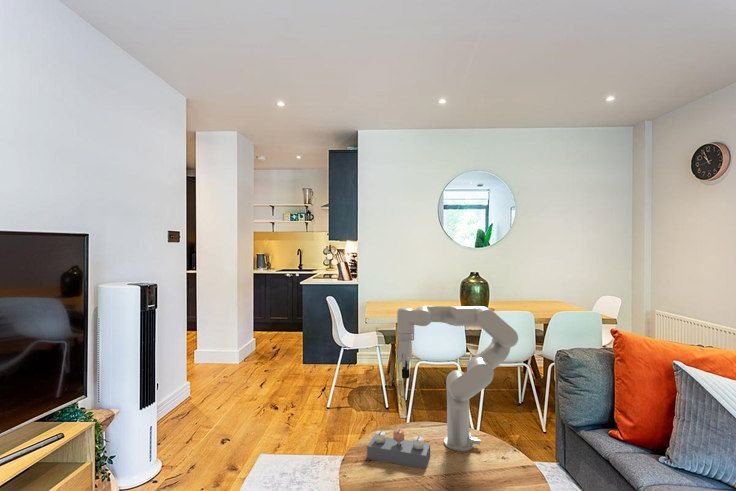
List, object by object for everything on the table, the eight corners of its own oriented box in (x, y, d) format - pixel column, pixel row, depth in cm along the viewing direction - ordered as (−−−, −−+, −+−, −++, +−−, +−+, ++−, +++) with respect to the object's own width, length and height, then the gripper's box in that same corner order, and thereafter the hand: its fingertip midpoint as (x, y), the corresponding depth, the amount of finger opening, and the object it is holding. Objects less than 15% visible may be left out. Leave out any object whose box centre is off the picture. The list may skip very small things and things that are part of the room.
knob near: (424, 453, 156) (424, 436, 156) (422, 458, 151) (422, 441, 152) (413, 451, 157) (413, 435, 157) (411, 456, 153) (411, 439, 153)
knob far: (386, 446, 161) (386, 431, 161) (383, 451, 157) (383, 435, 157) (376, 445, 162) (376, 429, 162) (373, 450, 158) (373, 434, 158)
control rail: (430, 456, 158) (430, 443, 158) (426, 468, 148) (425, 455, 148) (374, 447, 165) (374, 435, 165) (367, 458, 156) (367, 446, 156)
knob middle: (405, 445, 158) (405, 429, 158) (402, 450, 154) (402, 433, 154) (394, 443, 160) (394, 427, 160) (392, 448, 155) (392, 432, 156)
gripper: (400, 332, 179) (400, 372, 179) (394, 339, 165) (394, 382, 164) (416, 333, 177) (416, 373, 177) (411, 340, 163) (411, 383, 162)
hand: (405, 377), depth 171 cm, fingers closed
